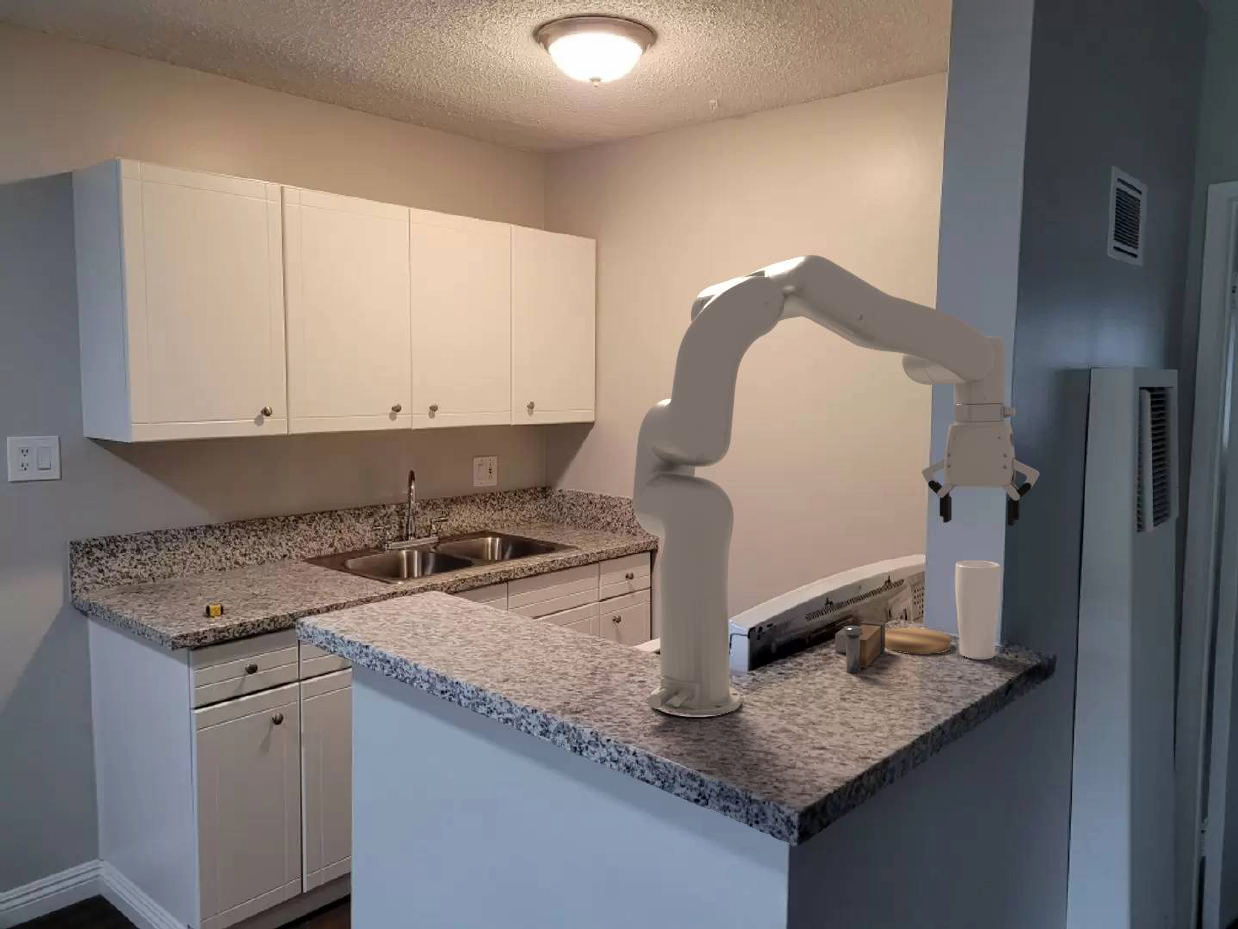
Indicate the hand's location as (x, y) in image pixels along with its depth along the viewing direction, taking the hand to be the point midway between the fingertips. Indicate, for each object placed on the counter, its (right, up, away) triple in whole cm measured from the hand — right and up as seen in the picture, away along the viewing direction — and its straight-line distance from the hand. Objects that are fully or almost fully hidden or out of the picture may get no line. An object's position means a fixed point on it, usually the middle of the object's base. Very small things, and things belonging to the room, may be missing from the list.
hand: (978, 523), depth 142 cm
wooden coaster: (-7, -21, +8) cm, 24 cm away
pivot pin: (-21, -23, -5) cm, 31 cm away
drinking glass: (0, -22, +2) cm, 22 cm away
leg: (-18, -22, +1) cm, 28 cm away
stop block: (-19, -22, +7) cm, 30 cm away
